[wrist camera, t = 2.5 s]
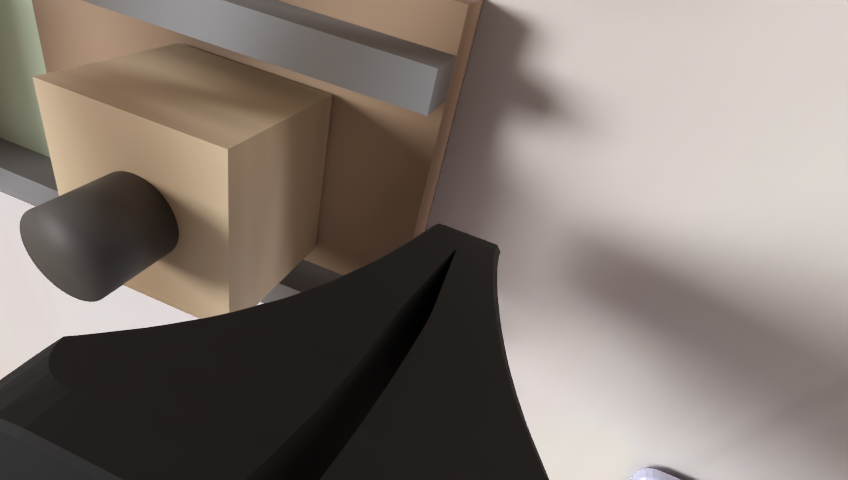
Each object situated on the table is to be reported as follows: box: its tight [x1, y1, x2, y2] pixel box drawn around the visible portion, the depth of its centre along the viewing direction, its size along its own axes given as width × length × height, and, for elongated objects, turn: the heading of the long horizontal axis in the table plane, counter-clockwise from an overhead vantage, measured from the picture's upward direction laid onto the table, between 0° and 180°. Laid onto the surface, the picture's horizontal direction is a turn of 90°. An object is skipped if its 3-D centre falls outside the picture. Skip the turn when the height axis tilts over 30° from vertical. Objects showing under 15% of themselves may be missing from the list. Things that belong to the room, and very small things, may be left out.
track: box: [0, 0, 483, 303], centre depth 12 cm, size 16×9×5 cm, turn 77°
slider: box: [20, 43, 332, 319], centre depth 11 cm, size 4×4×5 cm
